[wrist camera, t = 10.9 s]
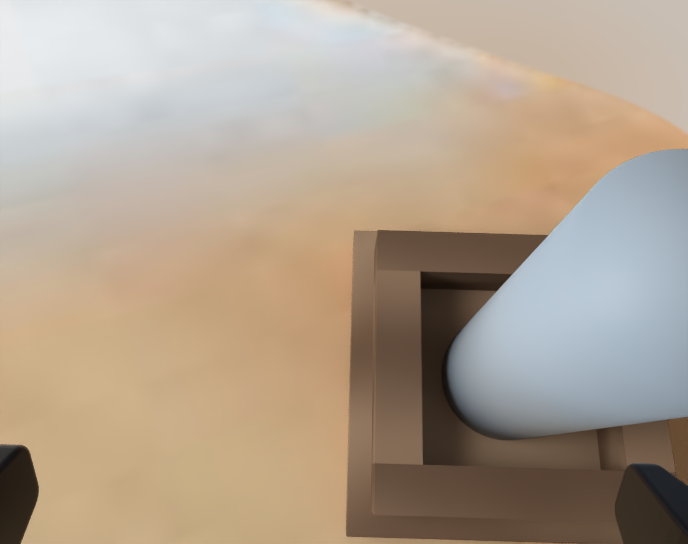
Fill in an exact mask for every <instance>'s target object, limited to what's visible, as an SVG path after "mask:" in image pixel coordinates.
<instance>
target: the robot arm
mask: <svg viewBox="0 0 688 544" xmlns="http://www.w3.org/2000/svg"><path fill="white" fill-rule="evenodd" d="M38 493H39V486H38V481H37V477H36V474H35V470H34V466H33V462H32V459H31V455H30V452H29V450H28V449H27V447H25V446H23V445H6V444H1V445H0V544H21V541H22V539H23V536H24V534H25V531H26V528H27V526H28V523H29V521H30V518H31V515H32V513H33V510H34V508H35V505H36V502H37V499H38ZM615 517H616V521H617V524H618V528H619V531H620V535H621V538H622V541H623V544H688V486H687V485H686V484H684V483H683V482H682V481H680V480H679V479H678V478H676V477H675V476H674V475H672V474H671V473H670V472H668V471H667V470H666V469H664V468H663V467H661V466H660V465H657V464H650V463H632V464H629V465H628V466H627V467H626V469H625V472H624V475H623V478H622V482H621V485H620V488H619V491H618V495H617V498H616V501H615Z"/></svg>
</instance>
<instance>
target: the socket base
mask: <svg viewBox="0 0 688 544" xmlns="http://www.w3.org/2000/svg"><path fill="white" fill-rule="evenodd" d="M547 236H548V235H522V234H488V233H455V232H422V231H388V230H378V231H354V242H353V277H352V316H351V356H350V395H349V434H348V474H347V513H346V536H348V537H381V538H414V539H447V540H480V541H512V542H545V543H578V544H623V541H622V538H621V535H620V531H619V528H618V524H617V521H616V517H615V501H616V498H617V495H618V491H619V488H620V485H621V482H622V478H623V475H624V472H625V469H626V467H627V466H628V465H629V464H632V463H650V464H657V465H660V466H661V467H663V468H664V469H666V470H667V471H668V472H670V473H671V474H672V475H674V476H675V477H676V473H675V466H674V459H673V452H672V445H671V438H670V431H669V424H668V420H661V421H653V422H646V423H638V424H631V425H623V426H616V427H608V428H601V429H593V430H586V431H578V432H571V433H563V434H556V435H549V436H541V437H534V438H526V439H519V440H497V439H492V438H489V437H486V436H483V435H481V434H479V433H477V432H475V431H473V430H472V429H471V428H469V427H468V426H466V425H465V424H464V423H463V422H462V421H461V420H460V419H459V418H458V417H457V416H456V414H455V413H454V412H453V410H452V409H451V407H450V405H449V403H448V401H447V399H446V396H445V394H444V390H443V386H442V378H441V371H442V363H443V358H444V355H445V352H446V350H447V348H448V346H449V344H450V343H451V341H452V340H453V338H454V337H455V336H456V335H457V334H458V333H459V332H460V331H461V330H462V328H463V327H464V326H465V325H466V324H467V323H468V322H469V321H470V320H471V319H472V318H473V317H474V315H475V314H476V313H477V312H478V311H479V310H480V309H481V308H482V307H483V306H484V305H485V304H486V302H487V301H488V300H489V299H490V298H491V297H492V296H493V295H494V294H495V293H496V292H497V291H498V289H499V288H500V287H501V286H502V285H503V284H504V283H505V282H506V281H507V280H508V279H509V278H510V276H511V275H512V274H513V273H514V272H515V271H516V270H517V269H518V268H519V267H520V266H521V265H522V263H523V262H524V261H525V260H526V259H527V258H528V257H529V256H530V255H531V254H532V253H533V252H534V250H535V249H536V248H537V247H538V246H539V245H540V244H541V243H542V242H543V241H544V240H545V239H546V237H547Z"/></svg>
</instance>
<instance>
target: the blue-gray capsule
mask: <svg viewBox="0 0 688 544" xmlns="http://www.w3.org/2000/svg"><path fill="white" fill-rule="evenodd" d="M441 378H442V386H443V390H444V394H445V396H446V399H447V401H448V403H449V405H450V407H451V409H452V410H453V412H454V413H455V414H456V416H457V417H458V418H459V419H460V420H461V421H462V422H463V423H464V424H465V425H466V426H468V427H469V428H471V429H472V430H473V431H475V432H477V433H479V434H481V435H483V436H486V437H489V438H492V439H497V440H519V439H526V438H534V437H541V436H549V435H556V434H563V433H571V432H578V431H586V430H593V429H601V428H608V427H616V426H623V425H631V424H638V423H646V422H653V421H661V420H668V419H676V418H683V417H688V149H672V150H663V151H656V152H651V153H648V154H644V155H641V156H638V157H635V158H633V159H631V160H629V161H626V162H624V163H622V164H621V165H619V166H617V167H616V168H614V169H613V170H611V171H610V172H609V173H607V174H606V175H605V176H604V177H603V178H602V179H600V180H599V181H598V182H597V183H596V184H595V186H594V187H593V188H592V189H591V190H590V191H589V192H588V193H587V194H586V195H585V196H584V197H583V199H582V200H581V201H580V202H579V203H578V204H577V205H576V206H575V207H574V208H573V209H572V210H571V211H570V213H569V214H568V215H567V216H566V217H565V218H564V219H563V220H562V221H561V222H560V223H559V224H558V226H557V227H556V228H555V229H554V230H553V231H552V232H551V233H550V234H549V235H548V236H547V237H546V239H545V240H544V241H543V242H542V243H541V244H540V245H539V246H538V247H537V248H536V249H535V250H534V252H533V253H532V254H531V255H530V256H529V257H528V258H527V259H526V260H525V261H524V262H523V263H522V265H521V266H520V267H519V268H518V269H517V270H516V271H515V272H514V273H513V274H512V275H511V276H510V278H509V279H508V280H507V281H506V282H505V283H504V284H503V285H502V286H501V287H500V288H499V289H498V291H497V292H496V293H495V294H494V295H493V296H492V297H491V298H490V299H489V300H488V301H487V302H486V304H485V305H484V306H483V307H482V308H481V309H480V310H479V311H478V312H477V313H476V314H475V315H474V317H473V318H472V319H471V320H470V321H469V322H468V323H467V324H466V325H465V326H464V327H463V328H462V330H461V331H460V332H459V333H458V334H457V335H456V336H455V337H454V338H453V340H452V341H451V343H450V344H449V346H448V348H447V350H446V352H445V355H444V358H443V363H442V371H441Z"/></svg>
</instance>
